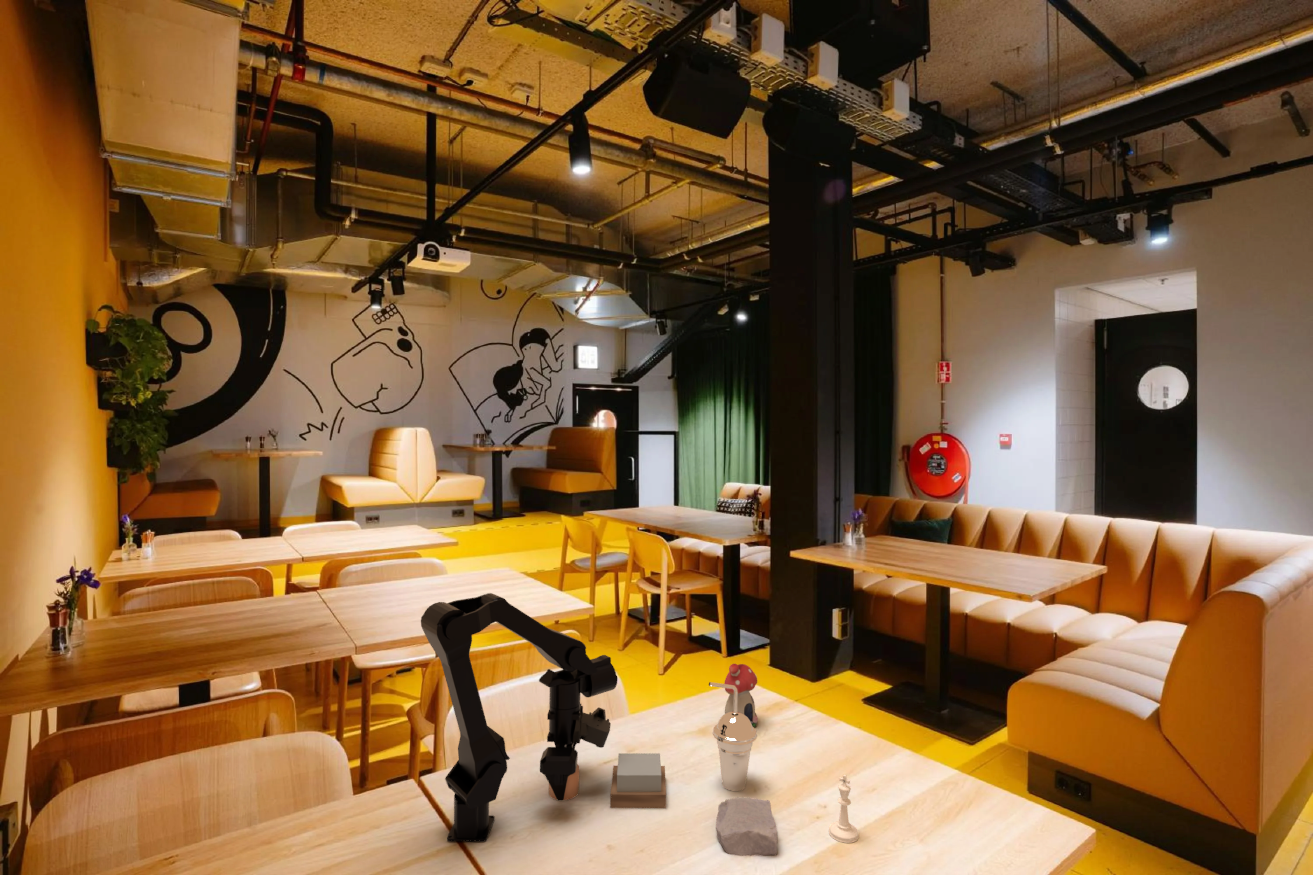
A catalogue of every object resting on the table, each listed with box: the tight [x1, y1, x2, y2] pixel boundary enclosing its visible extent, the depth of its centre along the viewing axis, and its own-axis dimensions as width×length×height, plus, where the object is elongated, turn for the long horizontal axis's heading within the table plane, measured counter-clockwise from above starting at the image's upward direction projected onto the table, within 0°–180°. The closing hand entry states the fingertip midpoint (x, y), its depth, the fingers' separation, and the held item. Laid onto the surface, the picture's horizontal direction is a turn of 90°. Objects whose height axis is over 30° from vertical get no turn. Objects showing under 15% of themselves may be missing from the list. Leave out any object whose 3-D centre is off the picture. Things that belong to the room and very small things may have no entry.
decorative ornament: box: [723, 663, 759, 729], centre depth 151 cm, size 9×7×15 cm
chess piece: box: [828, 774, 860, 844], centre depth 111 cm, size 5×5×10 cm
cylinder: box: [548, 763, 580, 801], centre depth 123 cm, size 6×6×4 cm
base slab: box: [609, 765, 667, 809], centre depth 123 cm, size 10×10×3 cm
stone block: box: [715, 796, 779, 857], centre depth 111 cm, size 12×5×10 cm
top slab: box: [617, 752, 662, 792], centre depth 123 cm, size 8×8×3 cm
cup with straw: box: [708, 681, 758, 792], centre depth 126 cm, size 8×9×20 cm
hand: (563, 785), depth 123 cm, fingers open, 9 cm apart
